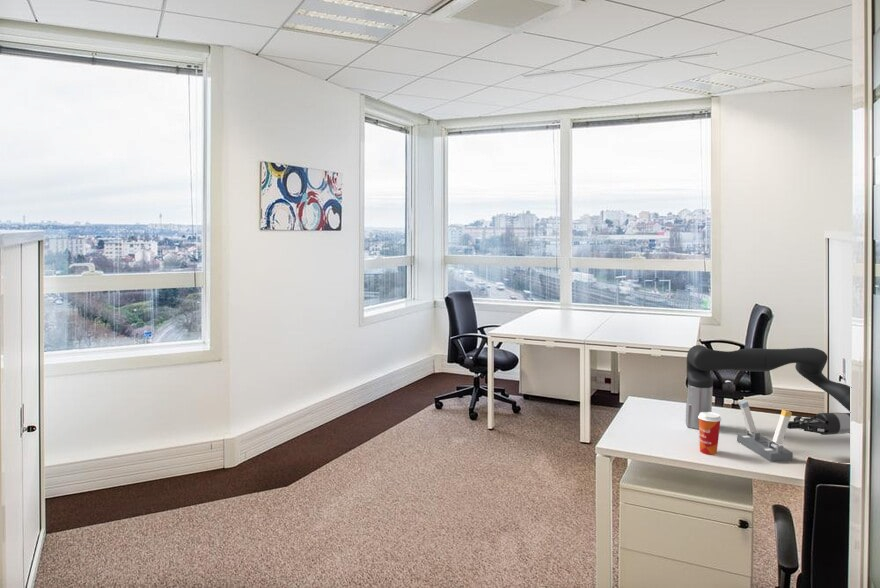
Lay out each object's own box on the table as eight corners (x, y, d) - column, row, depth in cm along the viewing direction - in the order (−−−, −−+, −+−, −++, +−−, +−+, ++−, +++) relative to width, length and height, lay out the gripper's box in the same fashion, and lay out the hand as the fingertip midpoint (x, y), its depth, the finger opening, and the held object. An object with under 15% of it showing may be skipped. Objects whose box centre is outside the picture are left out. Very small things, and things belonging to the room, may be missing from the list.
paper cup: (692, 448, 216) (694, 411, 214) (712, 447, 217) (714, 410, 215) (703, 456, 208) (705, 418, 207) (724, 455, 209) (726, 417, 207)
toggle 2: (775, 449, 204) (787, 411, 203) (769, 445, 208) (781, 408, 207) (781, 450, 205) (793, 413, 204) (774, 447, 208) (786, 410, 207)
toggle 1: (753, 438, 217) (742, 404, 216) (747, 434, 221) (737, 401, 219) (759, 435, 218) (748, 402, 216) (753, 432, 221) (743, 399, 219)
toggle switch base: (770, 462, 203) (771, 447, 202) (736, 441, 223) (737, 428, 222) (792, 461, 203) (793, 446, 203) (756, 440, 223) (757, 427, 223)
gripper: (846, 440, 201) (799, 442, 199) (818, 427, 214) (773, 429, 212) (848, 419, 200) (800, 421, 198) (820, 407, 213) (775, 409, 211)
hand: (787, 425), depth 205 cm, fingers closed
